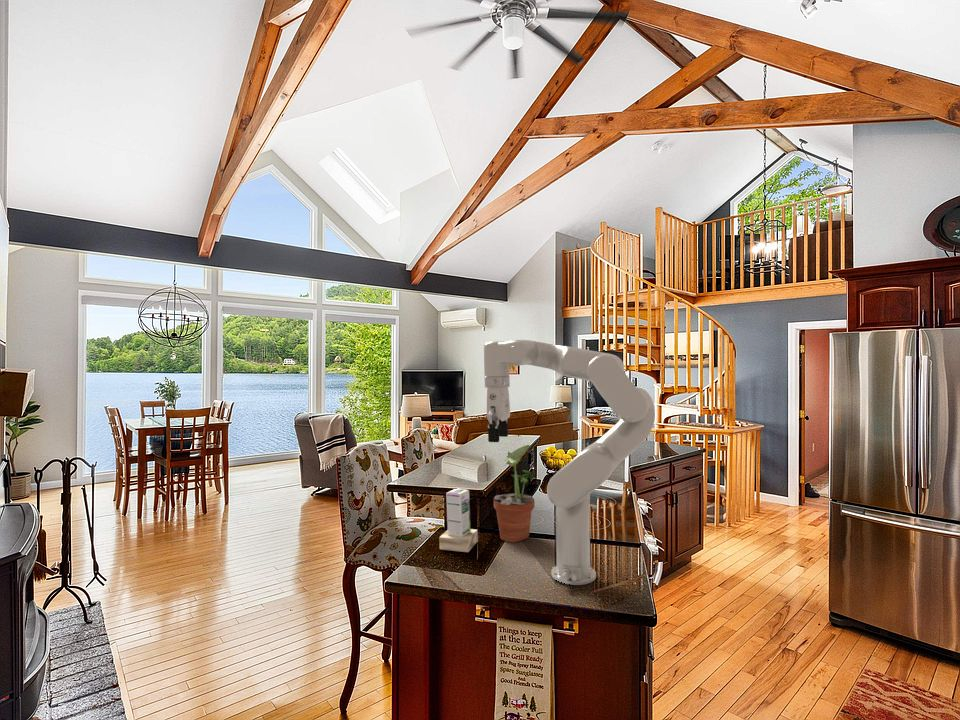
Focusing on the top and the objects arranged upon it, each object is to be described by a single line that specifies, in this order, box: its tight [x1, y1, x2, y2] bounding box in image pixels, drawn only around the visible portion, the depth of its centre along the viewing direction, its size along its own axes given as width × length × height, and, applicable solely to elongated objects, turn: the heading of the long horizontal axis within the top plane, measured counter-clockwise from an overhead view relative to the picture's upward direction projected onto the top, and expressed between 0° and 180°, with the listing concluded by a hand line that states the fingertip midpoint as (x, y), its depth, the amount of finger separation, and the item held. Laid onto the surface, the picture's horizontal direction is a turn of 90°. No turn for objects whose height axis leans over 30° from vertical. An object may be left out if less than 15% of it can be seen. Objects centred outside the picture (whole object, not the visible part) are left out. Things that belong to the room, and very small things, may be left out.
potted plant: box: [493, 444, 535, 543], centre depth 182 cm, size 16×15×35 cm
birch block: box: [438, 528, 479, 553], centre depth 175 cm, size 10×10×4 cm
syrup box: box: [445, 487, 472, 537], centre depth 174 cm, size 6×6×14 cm
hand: (498, 439), depth 157 cm, fingers open, 9 cm apart
